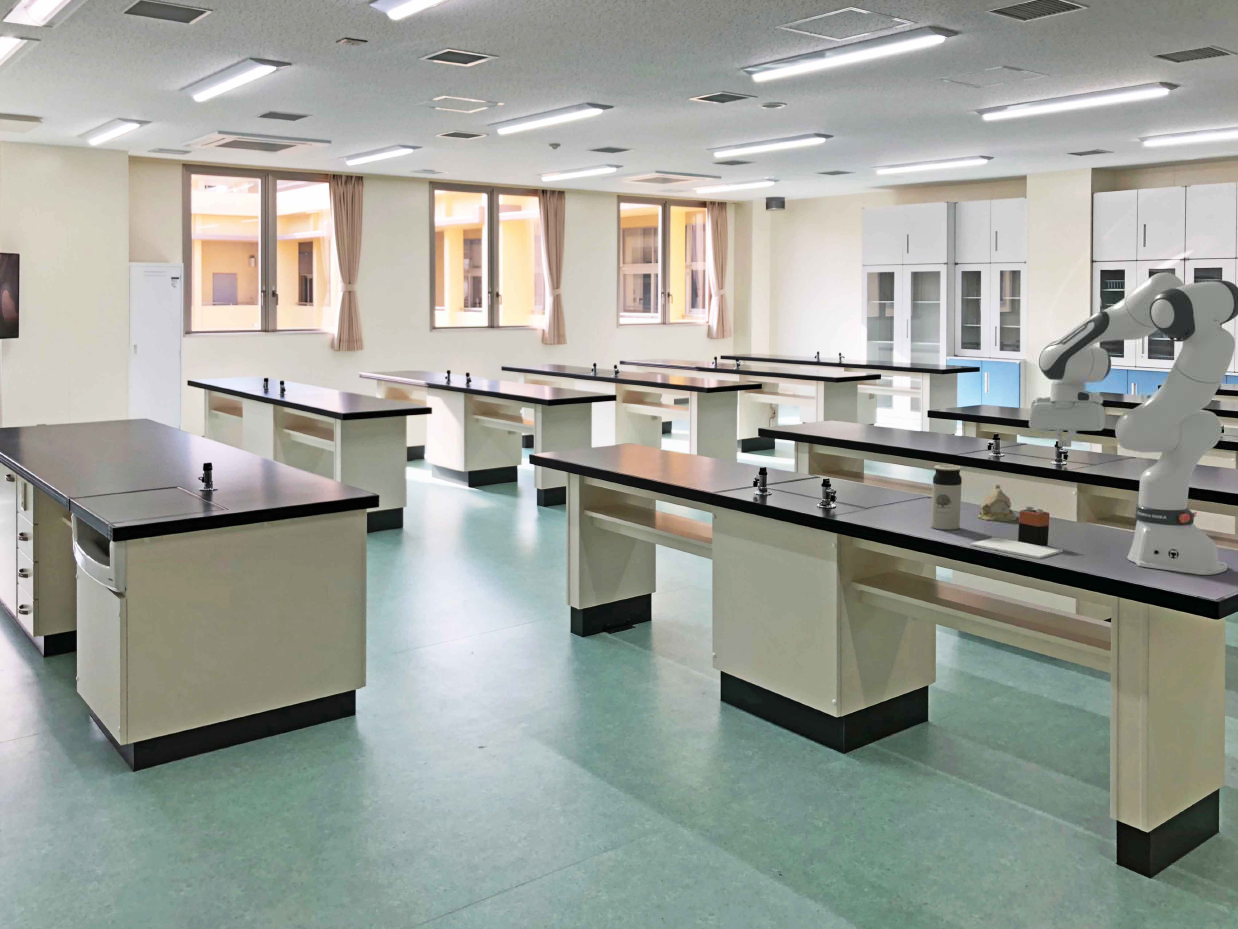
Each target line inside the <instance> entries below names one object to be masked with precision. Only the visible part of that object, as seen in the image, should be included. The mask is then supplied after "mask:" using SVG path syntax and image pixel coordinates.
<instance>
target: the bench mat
mask: <svg viewBox="0 0 1238 929" xmlns="http://www.w3.org/2000/svg"><path fill="white" fill-rule="evenodd" d="M969 546H971V547H974V546H977V547H976V548H980V547H981V549H985V548H986V549H985V550H990V549H993V550H992V551H995V550H998V551H997V552H1001V553H1007V554H1013V555H1018V556H1023V557H1028V558H1032V559H1033V558H1034V559H1038V560H1039V559H1044V558H1046V557H1050V556H1054V555H1057V554H1060V553H1063V552H1064V549H1062V548H1054V547H1049V546H1039V545H1034V544H1028V543H1023V542H1018V540H1011V539H1005V538H999V537H995V536H994V537H990V538H986V539H982V540H979V541H975V542H971V543H969Z"/></svg>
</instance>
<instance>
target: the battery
mask: <svg viewBox="0 0 1238 929" xmlns="http://www.w3.org/2000/svg"><path fill="white" fill-rule="evenodd" d="M1049 528H1050V512H1049V511H1044V509H1040V508H1038V509H1035V507H1034V506H1025V509H1021V510H1019V518H1018V535H1017V536H1018V537H1017V542H1023V543H1028V544H1034V545H1039V546H1045V547H1047V546H1048V544H1049V533H1050V532H1049Z"/></svg>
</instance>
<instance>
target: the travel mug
mask: <svg viewBox="0 0 1238 929" xmlns="http://www.w3.org/2000/svg"><path fill="white" fill-rule="evenodd" d="M934 470H935V474H934V475H933V477H932V498H931V515H930V516H931V518H930V520H931V521H930V526H931V527H932V528H934V529H936V530H941V531H954V530H958V529H959V528H960V527H961V526H960V525H961V522H960V521H961V502H962V483H963V482H962V480H963V479H962V476H961V474H960V472H961V470H962V467H961V466H959V465H953V464H952V465H951V464H939V465H934Z"/></svg>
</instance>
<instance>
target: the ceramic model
mask: <svg viewBox="0 0 1238 929" xmlns="http://www.w3.org/2000/svg"><path fill="white" fill-rule="evenodd" d="M984 498H985V499H984V502H982V503H981V504H980V506H979V507H980V509H981V511H979V512H978V515H977V518H979V519H981V520H985V521H995V522H996V521H999V522H1000V521H1002V522H1011V520H1012V521H1015V520H1016V519H1017V516H1016V514H1015V513H1014V511H1013V510H1012V509H1011V507H1012V503H1011V499H1010V498H1009V497H1008V495H1006V494H1005V493H1004V492H1003V490H1002V489H1001V485H1000V484H996V485H995V486H994V488H993V489H992V490H990V492H988V494H987V495H986V496H985V497H984Z"/></svg>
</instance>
